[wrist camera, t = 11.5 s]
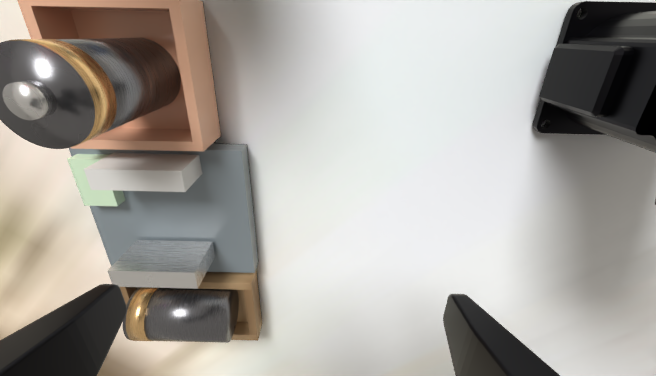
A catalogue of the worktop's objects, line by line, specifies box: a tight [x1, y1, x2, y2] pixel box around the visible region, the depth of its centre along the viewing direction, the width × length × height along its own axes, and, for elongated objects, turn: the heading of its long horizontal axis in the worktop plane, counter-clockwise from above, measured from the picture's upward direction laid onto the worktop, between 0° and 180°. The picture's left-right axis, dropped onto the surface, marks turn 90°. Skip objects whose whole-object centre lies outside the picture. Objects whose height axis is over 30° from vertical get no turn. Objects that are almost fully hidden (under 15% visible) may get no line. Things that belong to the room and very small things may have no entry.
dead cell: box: [0, 38, 181, 149], centre depth 14 cm, size 4×4×8 cm
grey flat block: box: [67, 144, 258, 273], centre depth 20 cm, size 10×9×4 cm
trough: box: [120, 270, 262, 340], centre depth 24 cm, size 10×6×2 cm, turn 89°
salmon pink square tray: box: [18, 0, 221, 151], centre depth 16 cm, size 7×7×3 cm
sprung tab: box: [108, 240, 215, 289], centre depth 20 cm, size 5×1×3 cm, turn 89°
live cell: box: [123, 287, 239, 342], centre depth 23 cm, size 7×4×4 cm, turn 89°
